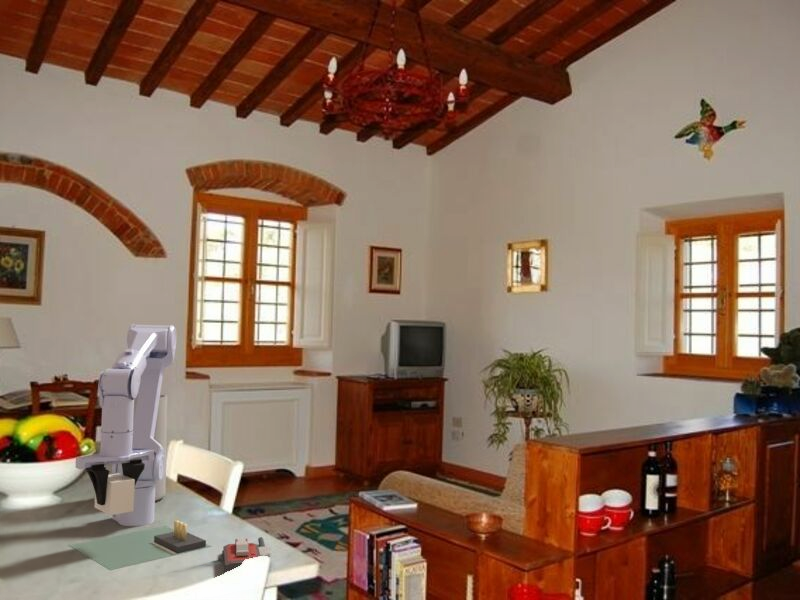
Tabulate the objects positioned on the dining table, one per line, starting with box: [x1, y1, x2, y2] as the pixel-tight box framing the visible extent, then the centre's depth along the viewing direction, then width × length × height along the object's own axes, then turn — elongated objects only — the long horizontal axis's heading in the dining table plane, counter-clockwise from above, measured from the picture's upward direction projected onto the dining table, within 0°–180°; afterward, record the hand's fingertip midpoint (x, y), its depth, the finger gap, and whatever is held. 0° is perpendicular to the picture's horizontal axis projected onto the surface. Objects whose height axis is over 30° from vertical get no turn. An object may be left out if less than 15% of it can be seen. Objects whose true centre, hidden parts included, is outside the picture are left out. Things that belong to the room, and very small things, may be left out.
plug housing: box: [94, 473, 135, 516], centre depth 138 cm, size 7×4×6 cm, turn 46°
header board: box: [68, 520, 212, 571], centre depth 139 cm, size 18×20×5 cm
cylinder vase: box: [133, 393, 168, 502], centre depth 177 cm, size 12×12×25 cm
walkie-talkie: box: [221, 536, 271, 574], centre depth 135 cm, size 9×4×20 cm
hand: (114, 501), depth 138 cm, fingers closed on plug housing, 4 cm apart
